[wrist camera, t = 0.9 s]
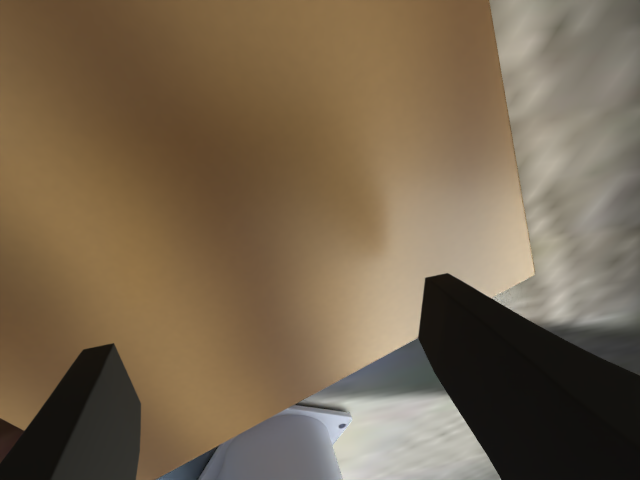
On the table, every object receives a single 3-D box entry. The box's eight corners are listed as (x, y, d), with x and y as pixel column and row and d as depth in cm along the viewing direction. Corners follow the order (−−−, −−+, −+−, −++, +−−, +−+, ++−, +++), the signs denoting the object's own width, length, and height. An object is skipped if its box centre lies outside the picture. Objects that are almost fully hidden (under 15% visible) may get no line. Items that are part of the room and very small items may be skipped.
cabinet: (153, 329, 21) (135, 491, 14) (-123, 80, 13) (-447, 184, 6) (424, 179, 20) (536, 274, 14) (305, -174, 13) (432, -347, 6)
